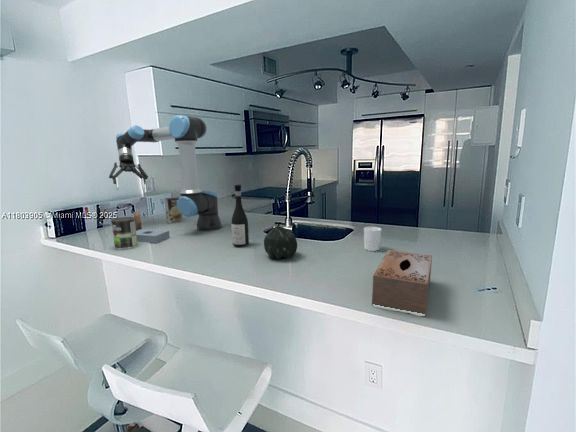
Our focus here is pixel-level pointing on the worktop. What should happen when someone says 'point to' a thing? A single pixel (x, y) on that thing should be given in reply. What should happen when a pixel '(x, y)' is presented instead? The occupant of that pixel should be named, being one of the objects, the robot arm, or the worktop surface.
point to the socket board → (152, 235)
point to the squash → (280, 243)
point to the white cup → (372, 238)
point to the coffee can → (124, 233)
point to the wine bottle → (239, 222)
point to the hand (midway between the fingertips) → (131, 188)
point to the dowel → (137, 220)
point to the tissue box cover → (402, 281)
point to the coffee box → (172, 210)
